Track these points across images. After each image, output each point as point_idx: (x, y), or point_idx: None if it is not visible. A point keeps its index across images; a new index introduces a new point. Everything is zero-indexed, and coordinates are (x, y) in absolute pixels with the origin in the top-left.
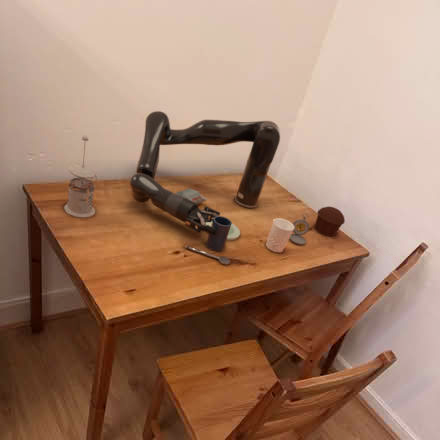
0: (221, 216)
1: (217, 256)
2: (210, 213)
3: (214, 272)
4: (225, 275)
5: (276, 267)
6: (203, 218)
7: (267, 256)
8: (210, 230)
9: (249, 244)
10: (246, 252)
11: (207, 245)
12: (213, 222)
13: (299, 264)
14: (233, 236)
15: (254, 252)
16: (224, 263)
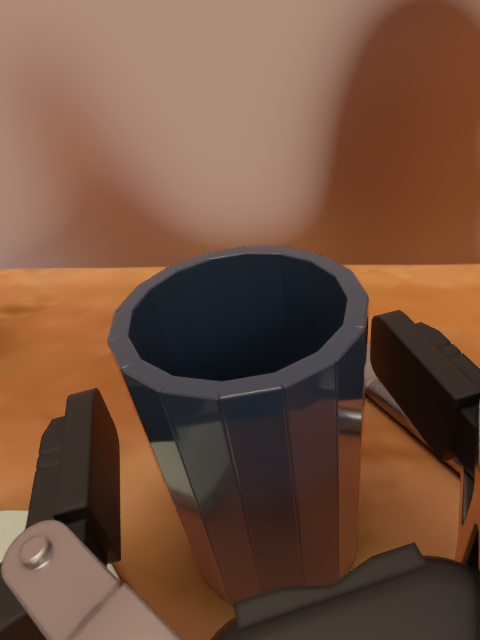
0: (142, 372)
1: (380, 386)
2: (157, 616)
3: (475, 329)
4: (417, 303)
5: (115, 287)
6: (426, 577)
7: (57, 338)
8: (450, 347)
9: (4, 438)
10: (119, 389)
11: (357, 539)
12: (363, 353)
13: (10, 279)
14: (9, 529)
15: (77, 376)
16: (368, 343)
